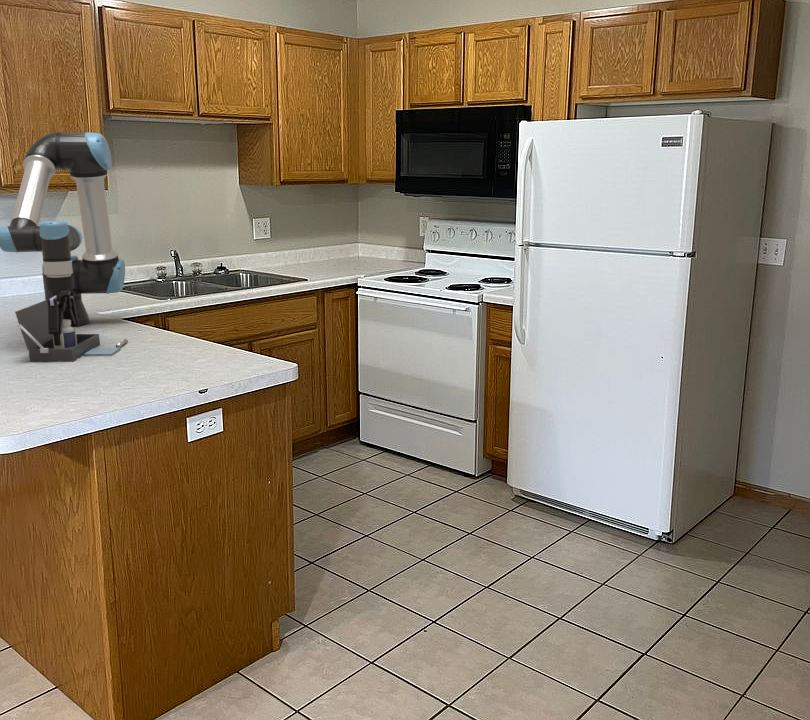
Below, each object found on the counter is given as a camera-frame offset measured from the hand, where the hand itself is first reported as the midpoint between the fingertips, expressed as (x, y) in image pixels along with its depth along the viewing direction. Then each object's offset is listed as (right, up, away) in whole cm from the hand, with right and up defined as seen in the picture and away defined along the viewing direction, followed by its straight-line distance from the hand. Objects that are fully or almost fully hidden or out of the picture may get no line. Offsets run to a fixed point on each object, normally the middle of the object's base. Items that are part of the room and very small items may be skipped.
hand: (66, 352), depth 239 cm
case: (-1, 0, 0) cm, 1 cm away
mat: (+10, 0, 0) cm, 11 cm away
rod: (+13, +2, +10) cm, 16 cm away
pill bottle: (0, 0, 0) cm, 0 cm away
